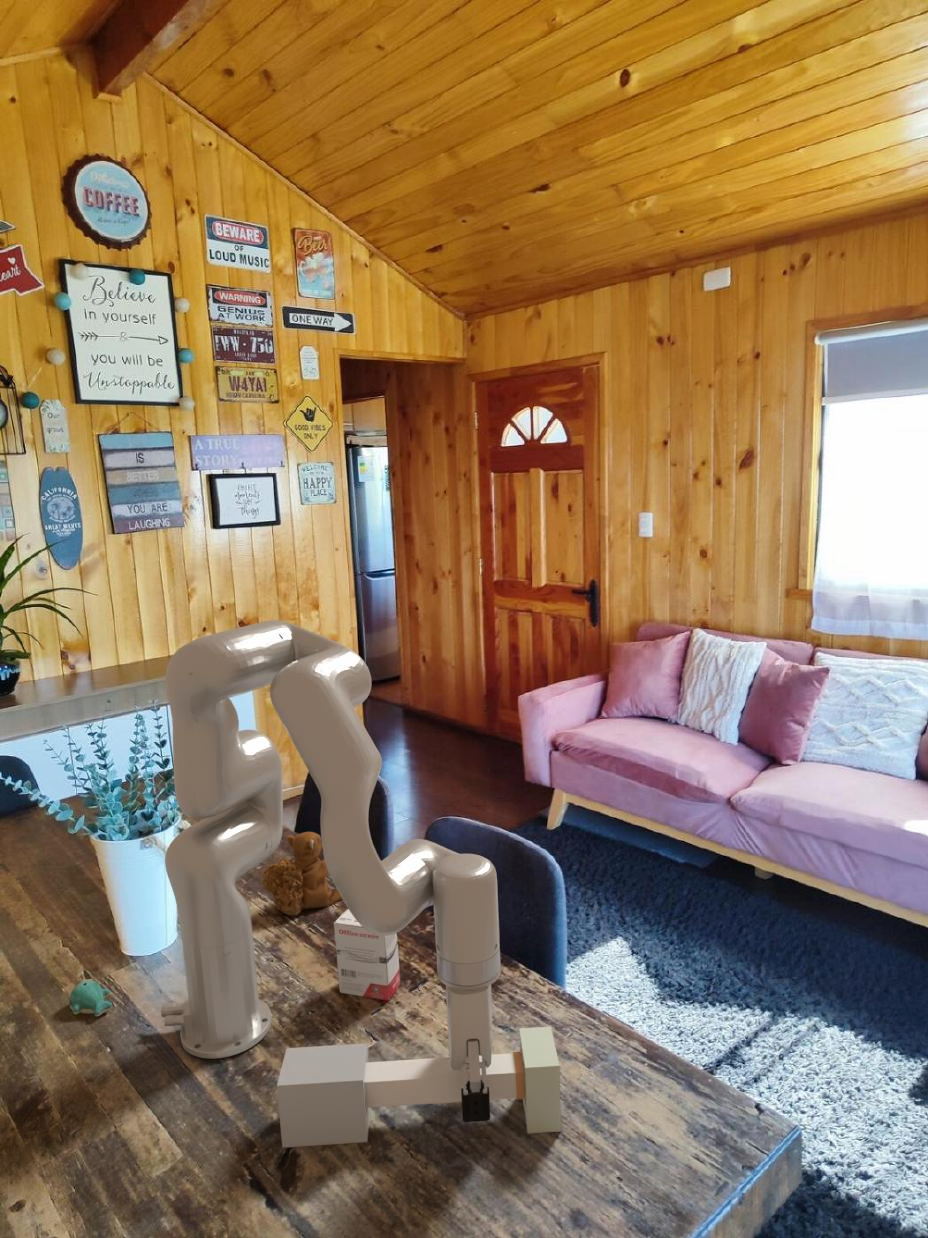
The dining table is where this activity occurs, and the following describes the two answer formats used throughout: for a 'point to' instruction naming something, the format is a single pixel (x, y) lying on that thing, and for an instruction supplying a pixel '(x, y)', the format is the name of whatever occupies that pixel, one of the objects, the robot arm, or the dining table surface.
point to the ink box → (365, 960)
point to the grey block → (323, 1095)
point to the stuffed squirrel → (300, 877)
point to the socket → (541, 1080)
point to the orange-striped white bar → (438, 1080)
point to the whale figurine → (89, 999)
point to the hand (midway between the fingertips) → (474, 1089)
